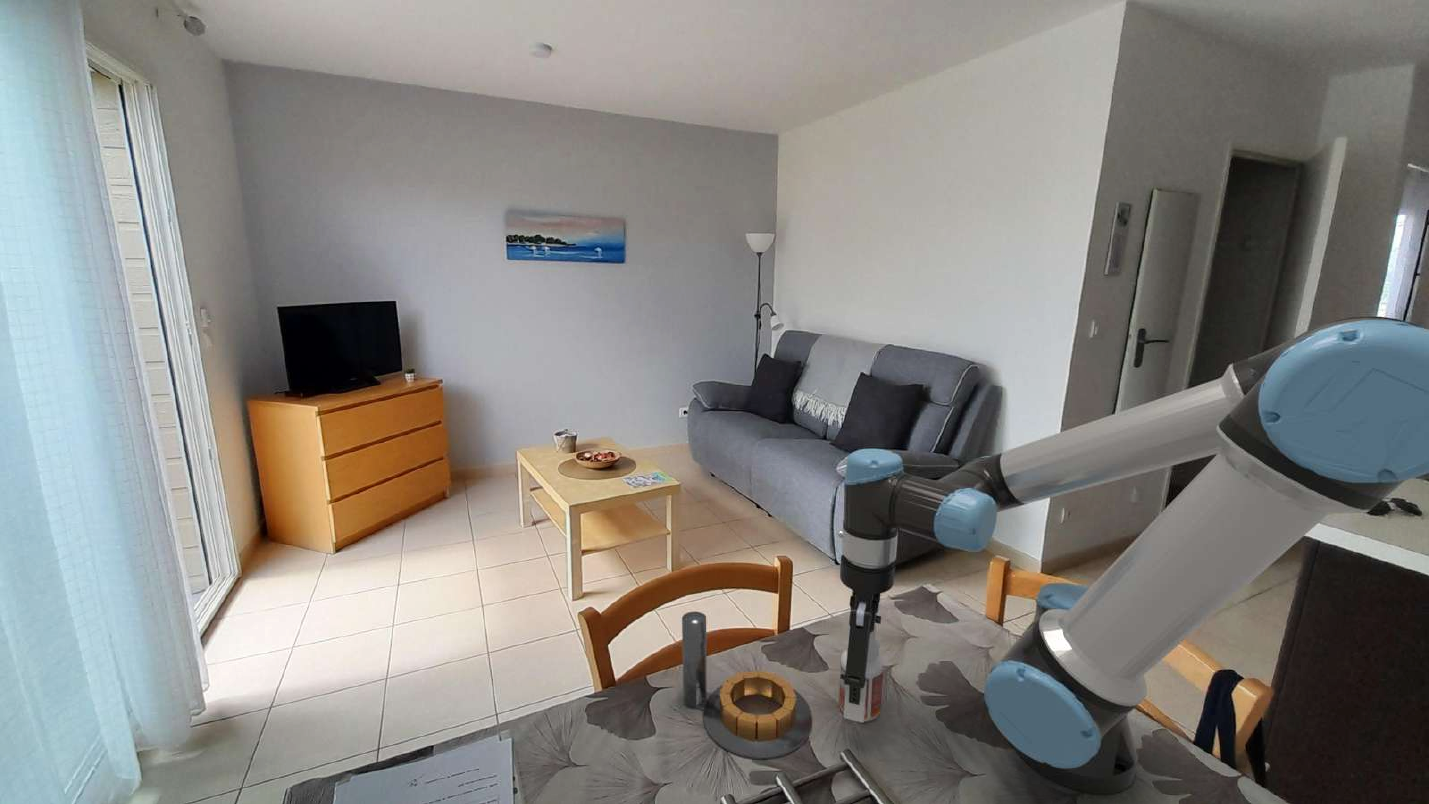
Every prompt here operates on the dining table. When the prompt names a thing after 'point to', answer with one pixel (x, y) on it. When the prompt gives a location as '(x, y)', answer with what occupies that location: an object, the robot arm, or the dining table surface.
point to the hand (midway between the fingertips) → (859, 688)
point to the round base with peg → (743, 703)
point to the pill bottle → (873, 680)
